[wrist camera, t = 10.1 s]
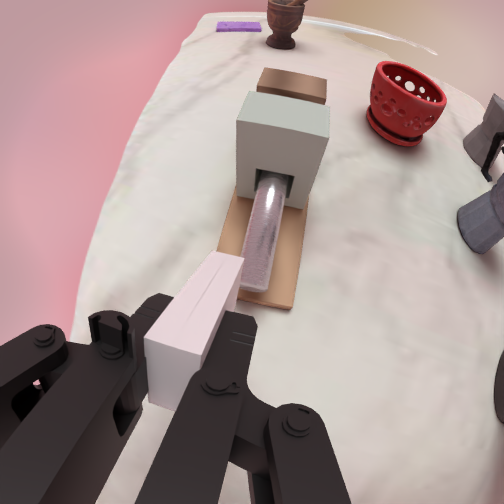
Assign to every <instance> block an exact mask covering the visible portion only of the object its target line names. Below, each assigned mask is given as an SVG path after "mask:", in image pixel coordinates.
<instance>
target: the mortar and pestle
mask: <svg viewBox="0 0 504 504" xmlns="http://www.w3.org/2000/svg"><path fill="white" fill-rule="evenodd" d="M306 1H308V0H268V10H267V20H268V25H269V27H270V28H271V29H272V31H273V34H272V35H270V36H269V37H268V38H267V41H266V43H267V44H268V45H269V46H271V47H274V48H280V49H289V48H293V47H295V41H294V39H293V38H291V34H292V33H293V32H295V31H296V30H297V29H298V26H299V25H300V24H301V21H302V17H303V12H304V7H305V5H304V4H303V3H305V2H306Z"/></svg>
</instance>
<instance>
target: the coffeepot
mask: <svg viewBox="0 0 504 504" xmlns="http://www.w3.org/2000/svg"><path fill="white" fill-rule="evenodd" d="M496 132H504V101H503V100H502V99H501V98H499V97H498V96H497V95H496V94H494V95H493V96H492V98H491V100H490V103H489V105H488V108H487V110H486V112H485V114H484V117H483V122H482V123H481V125H478V126H477V127H476V128H475V129H474V130H473V131H472V132H470V133H469V134H468V135H467V136H466V137H465V138H464V140H463V144H464V148H465V150H466V151H467V153H468V154H469V156H470V157H471V158H472V159H473V160H474V161H475V162H476V163H477V164H478V165H479V166H481V167H483V164H484V162H485V159H486V158H487V154H488V152H489V149H490V146H491V144H492V140H493V137H494V135H495V133H496ZM503 144H504V140H501V142H500V146H499V147H498V149H497V152H496V154H495V157H494V159H493V161H492V162H491V164H490V168H491V167H492V165H493V163H494V161H495V160H496V158H497V156H498V154H499V152H500V150H502V152H503V154H504V147H502V148H501V146H502V145H503Z"/></svg>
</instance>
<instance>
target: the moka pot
mask: <svg viewBox="0 0 504 504" xmlns="http://www.w3.org/2000/svg"><path fill="white" fill-rule="evenodd" d="M501 140H504V132H496V133H495V135H494V137H493V140H492V144H491V146H490V149H489V152H488V154H487V158H486V159H485V162H484V164H483V167H482V169H481V172H482V174H483V176H484V177H485V179H486V180H487V181H488V182H491V181H492V177H491V176H490V175H489V174H488V170H489V168H490V164H491V162H492V161H493V159H494V157H495V154H496V152H497V149H498V147H499V146H500V142H501ZM458 222H459V227H460V230H461V233H462V236H463V238H464V239H465V241H466V242H467V244H468V245H469V246H470V248H471V249H473V250H474V251H475V252H477V253H479V254H483V253H485V252H486V251H488V250H489V249H490V248H491V247H492V246H494V245H495V244H496V243H497V242H498V241H500V240H501V239H502V238H503V237H504V173H503V174H502V176H501V177H500V178H499V179H498V181H497V184H495V185H493V187H492V189H491V190H490V191H488V192H486V193H484V194H483V195H481V196H480V197H478V198H477V199H475V200H473V201H471V202H470V203H468V204H466V205H464V206H463V207H461V208H459V211H458Z"/></svg>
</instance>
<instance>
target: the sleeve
mask: <svg viewBox="0 0 504 504" xmlns="http://www.w3.org/2000/svg"><path fill="white" fill-rule="evenodd" d="M329 126H330V107H329V106H325V105H321V104H317V103H313V102H309V101H304V100H299V99H294V98H289V97H284V96H279V95H273V94H267V93H260V92H254V91H249V92H248V94H247V97H246V99H245V101H244V103H243V106H242V108H241V110H240V113H239V115H238V117H237V120H236V196H240V197H245V198H250V199H255V196H256V192H257V188H258V184H259V180H260V177H261V173H262V170H267V171H272V172H277V173H282V174H287V175H289V179H288V185H287V190H286V196H285V201H284V205H285V206H289V207H294V208H299V209H303V210H304V207H305V205H306V202H307V199H308V196H309V194H310V191H311V188H312V185H313V183H314V180H315V177H316V174H317V171H318V169H319V166H320V163H321V160H322V157H323V154H324V151H325V149H326V146H327V143H328V140H329Z"/></svg>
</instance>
